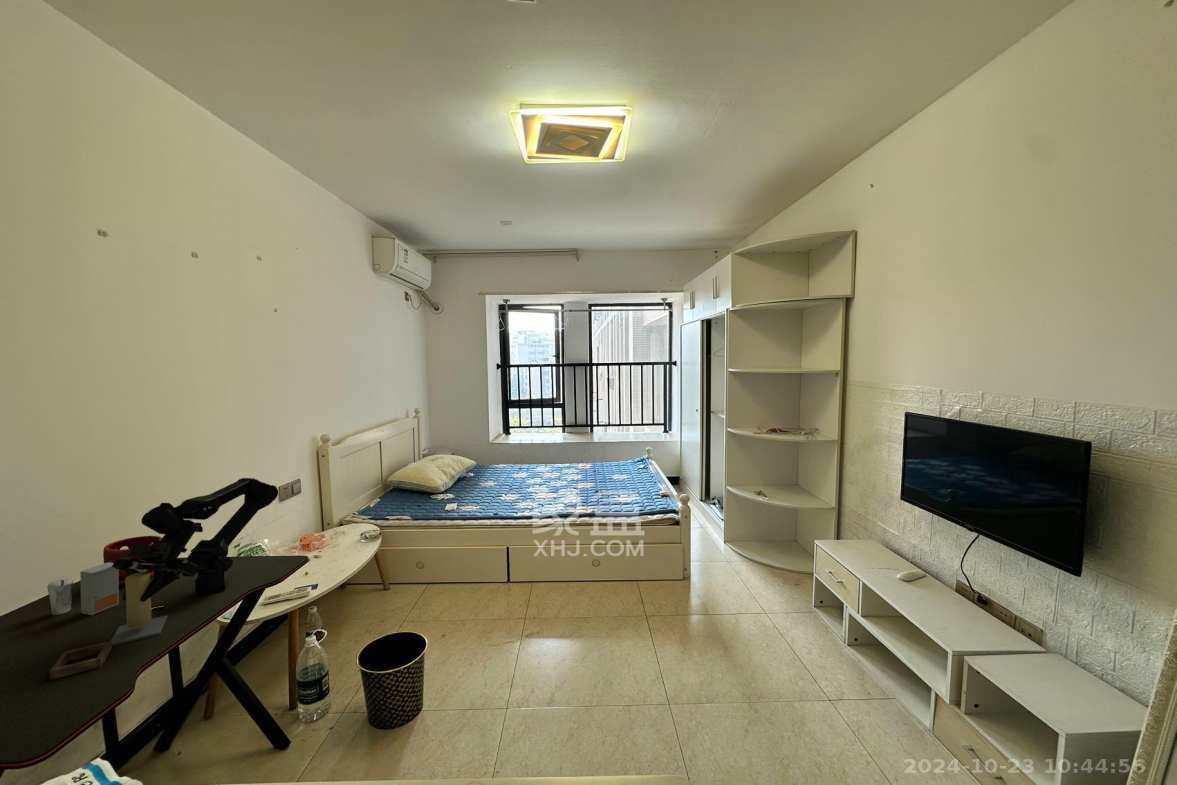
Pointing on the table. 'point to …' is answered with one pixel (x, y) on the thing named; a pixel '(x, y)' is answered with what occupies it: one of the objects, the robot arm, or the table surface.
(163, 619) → the slate mat
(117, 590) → the skincare box
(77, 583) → the table surface
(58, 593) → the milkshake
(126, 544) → the plant pot
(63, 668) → the walnut socket
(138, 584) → the wooden shaft
